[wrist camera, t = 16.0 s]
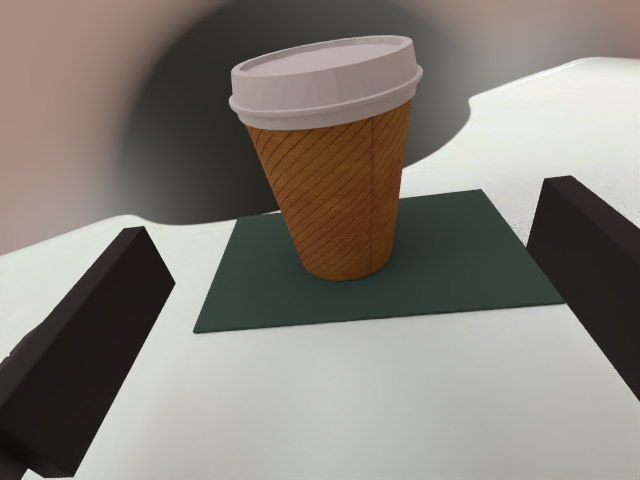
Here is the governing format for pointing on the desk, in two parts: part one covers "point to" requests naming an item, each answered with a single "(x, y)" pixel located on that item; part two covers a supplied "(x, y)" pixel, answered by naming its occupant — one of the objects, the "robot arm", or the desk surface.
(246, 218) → the desk mat
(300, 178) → the disposable coffee cup
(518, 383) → the desk surface
